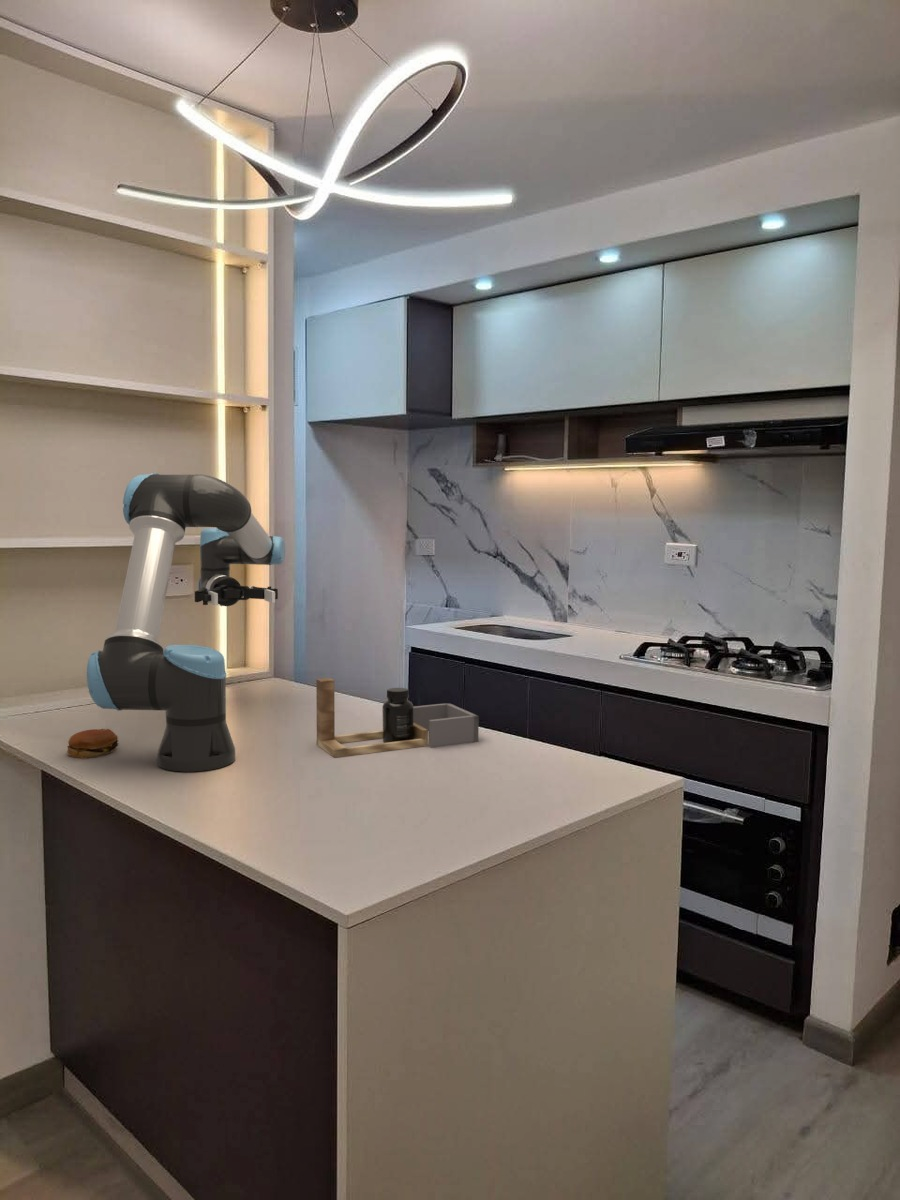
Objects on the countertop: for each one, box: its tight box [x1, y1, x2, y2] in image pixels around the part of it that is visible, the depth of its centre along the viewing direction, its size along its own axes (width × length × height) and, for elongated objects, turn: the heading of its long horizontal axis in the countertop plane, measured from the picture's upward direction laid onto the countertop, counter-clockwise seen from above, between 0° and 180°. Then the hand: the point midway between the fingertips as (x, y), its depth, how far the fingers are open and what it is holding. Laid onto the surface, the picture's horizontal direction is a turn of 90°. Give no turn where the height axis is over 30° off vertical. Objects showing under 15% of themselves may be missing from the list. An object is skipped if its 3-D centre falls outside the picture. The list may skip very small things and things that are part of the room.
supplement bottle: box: [382, 687, 414, 743], centre depth 195 cm, size 7×7×12 cm
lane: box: [413, 702, 480, 749], centre depth 200 cm, size 12×14×6 cm
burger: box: [67, 728, 120, 759], centre depth 185 cm, size 10×9×5 cm
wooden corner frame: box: [315, 677, 429, 758], centre depth 192 cm, size 22×11×14 cm, turn 118°
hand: (245, 598), depth 209 cm, fingers open, 13 cm apart
